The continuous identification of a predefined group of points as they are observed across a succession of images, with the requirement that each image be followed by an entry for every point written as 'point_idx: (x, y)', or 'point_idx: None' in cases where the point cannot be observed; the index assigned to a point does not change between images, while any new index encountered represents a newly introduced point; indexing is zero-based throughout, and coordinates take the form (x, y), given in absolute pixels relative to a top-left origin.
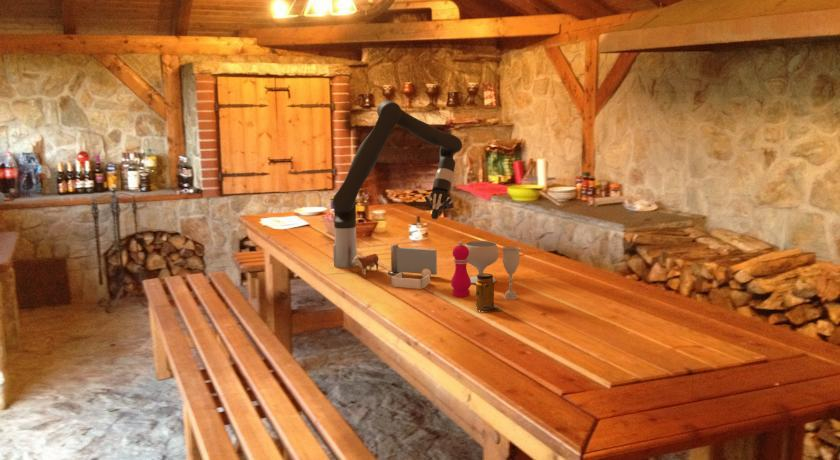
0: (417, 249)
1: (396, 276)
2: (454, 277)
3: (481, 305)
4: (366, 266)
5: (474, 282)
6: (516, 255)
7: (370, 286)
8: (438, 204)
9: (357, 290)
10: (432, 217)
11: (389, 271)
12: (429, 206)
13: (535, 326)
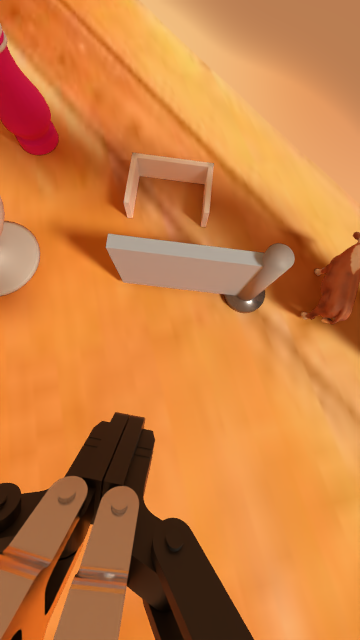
0: (179, 242)
1: (206, 181)
2: (29, 80)
3: None
4: (326, 266)
5: (12, 224)
6: None
7: (255, 174)
8: (22, 557)
9: (268, 143)
10: (139, 417)
11: (261, 293)
12: (185, 537)
13: None
